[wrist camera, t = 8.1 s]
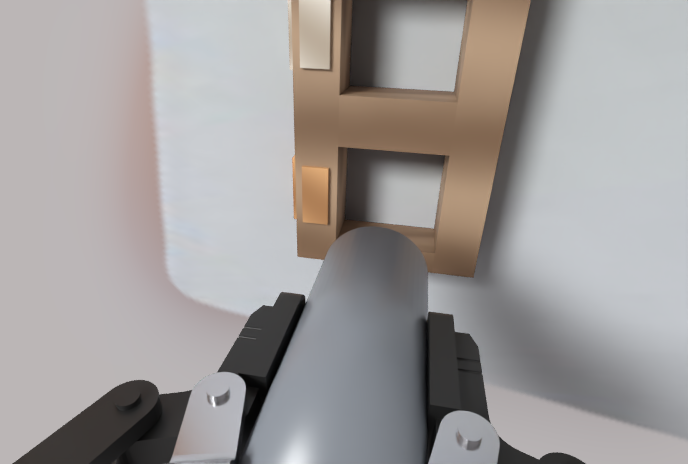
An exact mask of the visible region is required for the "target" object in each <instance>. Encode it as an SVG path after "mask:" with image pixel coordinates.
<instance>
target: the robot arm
mask: <svg viewBox="0 0 688 464" xmlns="http://www.w3.org/2000/svg"><path fill="white" fill-rule="evenodd" d="M304 306H305V296H304V295H301V294H294V293H286V292H281V293H280V295H279V297H278V299H277V300H276V302H275V304H274V306H273V307H272V306H265V305H263V306H262V307H261V308H259V309H258V310H257V311H255V312H254V313H253V314H251V316H250V318H249V319H248V321H247V323H246V324H245V327H244V328H243V329H242V331H241V333H240V335H239V338H237V340H236V341H235V343H234V345H233V347H232V348H231V350H230V352H229V353H228V355H227V357H226V358H225V360H224V362H223V364H222V365H221V367H220V368H219V370H218V372H217V373H214V374H211V375H208V376H207V377H205V378H203V379H202V380H200V381H199V382H198V383H197V384H196V385H195V386H194V388H193V390H190V391H186V392H178V393H170V394H161V395H159V392H158V389H157V387H156V386H155V385H154V384H152V383H151V382H149V381H145V380H134V381H129V382H126V383H123V384H121V385H119V386H117V387H115V388H114V389H112V390H111V391H109V392H108V393H107V394H105V395H104V396H103V397H101V398H100V399H99V400H97V401H96V402H95V403H93V404H92V405H91V406H89V407H88V408H87V409H85V410H84V411H82V412H81V413H80V414H78V415H77V416H76V417H74V418H73V419H72V420H70V421H69V422H68V423H67V424H65V425H64V426H62V427H61V428H60V429H58V430H57V431H56V432H54V433H53V434H52V435H50V436H49V437H48V438H47V439H45V440H44V441H43V442H41V443H40V444H38V445H37V446H36V447H34V448H33V449H32V450H30V451H29V452H28V453H27V454H25V455H24V456H22V457H21V458H20V459H18V460H17V461H16V462H14V463H13V464H238V463H239V459H240V457H241V455H242V452H243V450H244V448H245V445H246V443H247V441H248V438H249V436H250V434H251V431H252V429H253V426H254V424H255V422H256V419H257V417H258V415H259V412H260V410H261V408H262V405H263V403H264V401H265V398H266V396H267V393H268V391H269V389H270V386H271V384H272V382H273V379H274V377H275V375H276V372H277V370H278V368H279V365H280V363H281V360H282V358H283V356H284V353H285V351H286V349H287V346H288V344H289V342H290V339H291V337H292V335H293V332H294V330H295V327H296V325H297V323H298V320H299V318H300V316H301V313H302V311H303V309H304ZM427 429H428V464H585V463H584V462H582V461H580V460H579V459H577V458H575V457H573V456H571V455H568V454H564V453H549V454H546V455H544V456H543V457H542V458H540V460H538V459H536V458H534V457H532V456H530V455H527V454H525V453H523V452H521V451H519V450H517V449H515V448H513V447H511V446H510V445H508V444H507V443H506V442H505V441H503V440H502V439H501V438H500V437H499V436H498V434H497V432H496V430H495V428H494V427H493V426H492V425H491V423H490V420H489V415H488V409H487V402H486V396H485V389H484V382H483V376H482V369H481V363H480V356H479V349H478V346H477V345H476V343H475V342H474V340H473V339H472V337H471V336H470V334H466V333H458V332H455V331H454V319H453V315H450V314H443V313H435V312H429V313H428V318H427Z"/></svg>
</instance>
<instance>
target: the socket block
mask: <svg viewBox="0 0 688 464" xmlns="http://www.w3.org/2000/svg"><path fill="white" fill-rule="evenodd" d="M352 2H353V0H288V21H289V57H290V70H293V93H294V133H295V156H294V157H293V158H292V163H293V199H294V219H297V253H298V257H305V258H313V259H321V260H324V259H325V257H326V254H327V252H328V250H329V248H330V247H331V245H332V244H333V243H334V242H335V240H337V239H338V238H339V237H340V236H342V235H343V234H345V233H346V232H348V231H351V230H353V229H356V228H361V227H369V226H375V227H383V228H388V229H391V230H394V231H396V232H399V233H401V234H402V235H404V236H406V237H407V238H409V239H410V240H411V241H412V242H413V243H414V244H415V245H416V246H417V247H418V248H419V250H420V251H421V253H422V254H423V256H424V258H425V261H426V264H427V270H428V272H430V273H439V274H447V275H455V276H464V277H472V278H473V277H474V272H475V267H476V262H477V257H478V252H479V248H480V243H481V238H482V233H483V228H484V224H485V219H486V214H487V209H488V204H489V200H490V195H491V190H492V185H493V180H494V175H495V171H496V166H497V161H498V156H499V151H500V147H501V142H502V137H503V132H504V127H505V122H506V118H507V113H508V108H509V103H510V98H511V94H512V89H513V84H514V79H515V74H516V69H517V65H518V60H519V55H520V50H521V45H522V41H523V36H524V31H525V26H526V21H527V16H528V12H529V7H530V2H531V0H468V1H467V7H466V14H465V21H464V28H463V35H462V42H461V49H460V55H459V62H458V69H457V76H456V83H455V90H454V92H448V91H431V90H414V89H397V88H380V87H363V86H350V60H351V31H352ZM347 147H348V148H360V149H373V150H385V151H397V152H410V153H422V154H435V155H445V158H444V165H443V172H442V178H441V185H440V192H439V199H438V206H437V213H436V220H435V226H434V229H431V228H422V227H412V226H403V225H393V224H384V223H374V222H364V221H355V220H345V205H346V176H347Z"/></svg>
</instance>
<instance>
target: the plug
mask: <svg viewBox="0 0 688 464" xmlns="http://www.w3.org/2000/svg"><path fill="white" fill-rule="evenodd" d="M427 318H428V270H427V264H426V261H425V258H424V256H423V254H422V253H421V251H420V250H419V248H418V247H417V246H416V245H415V244H414V243H413V242H412V241H411V240H410V239H409V238H407V237H406V236H404V235H402V234H401V233H399V232H396V231H394V230H391V229H388V228H383V227H375V226H369V227H361V228H356V229H353V230H351V231H348V232H346V233H345V234H343V235H342V236H340V237H339V238H338V239H337V240H335V242H334V243H333V244H332V245H331V247H330V248H329V250H328V252H327V254H326V257H325V259H324V261H323V264H322V266H321V269H320V271H319V273H318V276H317V278H316V280H315V283H314V285H313V287H312V290H311V292H310V294H309V297H308V299H307V302H306V304H305V306H304V309H303V311H302V313H301V316H300V318H299V320H298V323H297V325H296V327H295V330H294V332H293V335H292V337H291V339H290V342H289V344H288V346H287V349H286V351H285V353H284V356H283V358H282V360H281V363H280V365H279V368H278V370H277V372H276V375H275V377H274V379H273V382H272V384H271V386H270V389H269V391H268V393H267V396H266V398H265V401H264V403H263V405H262V408H261V410H260V412H259V415H258V417H257V419H256V422H255V424H254V426H253V429H252V431H251V434H250V436H249V438H248V441H247V443H246V445H245V448H244V450H243V452H242V455H241V457H240V459H239V463H238V464H428V429H427Z"/></svg>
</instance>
